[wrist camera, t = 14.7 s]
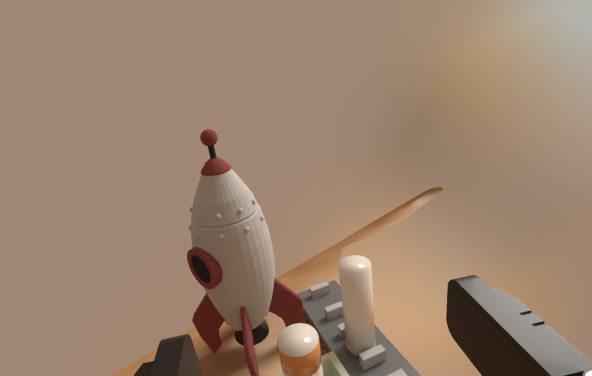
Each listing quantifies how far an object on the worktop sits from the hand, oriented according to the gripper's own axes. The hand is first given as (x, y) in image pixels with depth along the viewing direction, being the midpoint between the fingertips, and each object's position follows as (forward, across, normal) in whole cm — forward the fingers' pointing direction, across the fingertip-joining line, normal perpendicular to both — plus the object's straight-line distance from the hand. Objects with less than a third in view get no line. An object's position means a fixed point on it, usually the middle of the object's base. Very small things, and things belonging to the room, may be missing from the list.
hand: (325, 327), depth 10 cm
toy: (+28, +6, +28) cm, 40 cm away
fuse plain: (+23, -8, +26) cm, 36 cm away
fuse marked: (+15, 0, +27) cm, 31 cm away
